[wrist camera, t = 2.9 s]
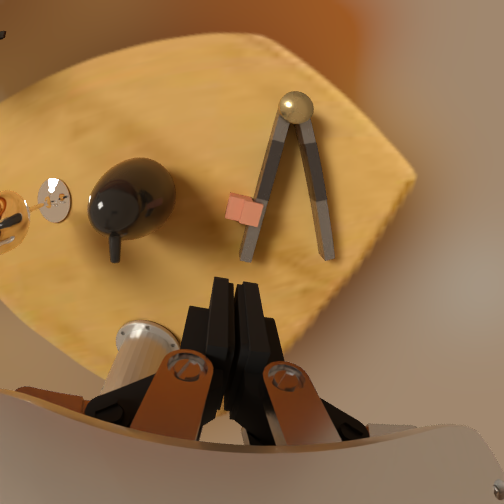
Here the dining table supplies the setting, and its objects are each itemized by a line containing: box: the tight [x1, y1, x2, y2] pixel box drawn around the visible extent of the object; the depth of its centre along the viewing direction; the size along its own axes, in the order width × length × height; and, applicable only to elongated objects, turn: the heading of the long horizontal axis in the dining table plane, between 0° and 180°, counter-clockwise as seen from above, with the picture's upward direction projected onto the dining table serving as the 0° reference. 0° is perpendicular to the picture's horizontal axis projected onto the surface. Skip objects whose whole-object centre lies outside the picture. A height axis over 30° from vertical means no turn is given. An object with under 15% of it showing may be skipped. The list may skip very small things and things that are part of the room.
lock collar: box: [225, 192, 264, 227], centre depth 37 cm, size 3×4×4 cm
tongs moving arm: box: [294, 119, 335, 261], centre depth 37 cm, size 22×2×3 cm, turn 13°
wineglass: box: [0, 178, 70, 255], centre depth 26 cm, size 8×8×20 cm
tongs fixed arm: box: [239, 91, 314, 263], centre depth 36 cm, size 24×4×4 cm, turn 165°
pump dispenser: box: [87, 158, 176, 263], centre depth 30 cm, size 10×10×15 cm
